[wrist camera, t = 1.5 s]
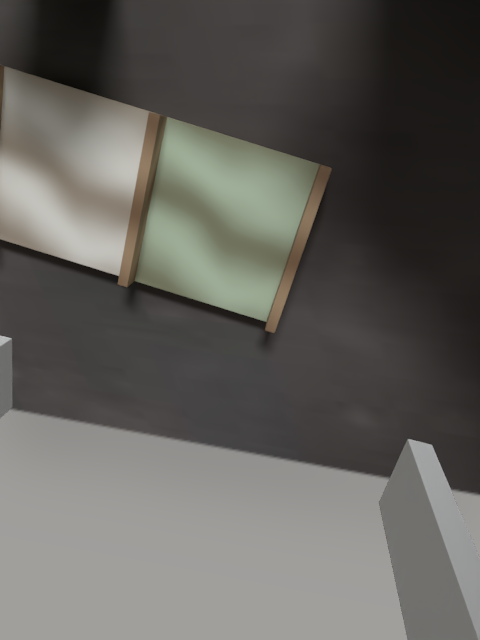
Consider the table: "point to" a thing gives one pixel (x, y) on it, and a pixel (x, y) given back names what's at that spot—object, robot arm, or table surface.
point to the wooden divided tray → (152, 197)
